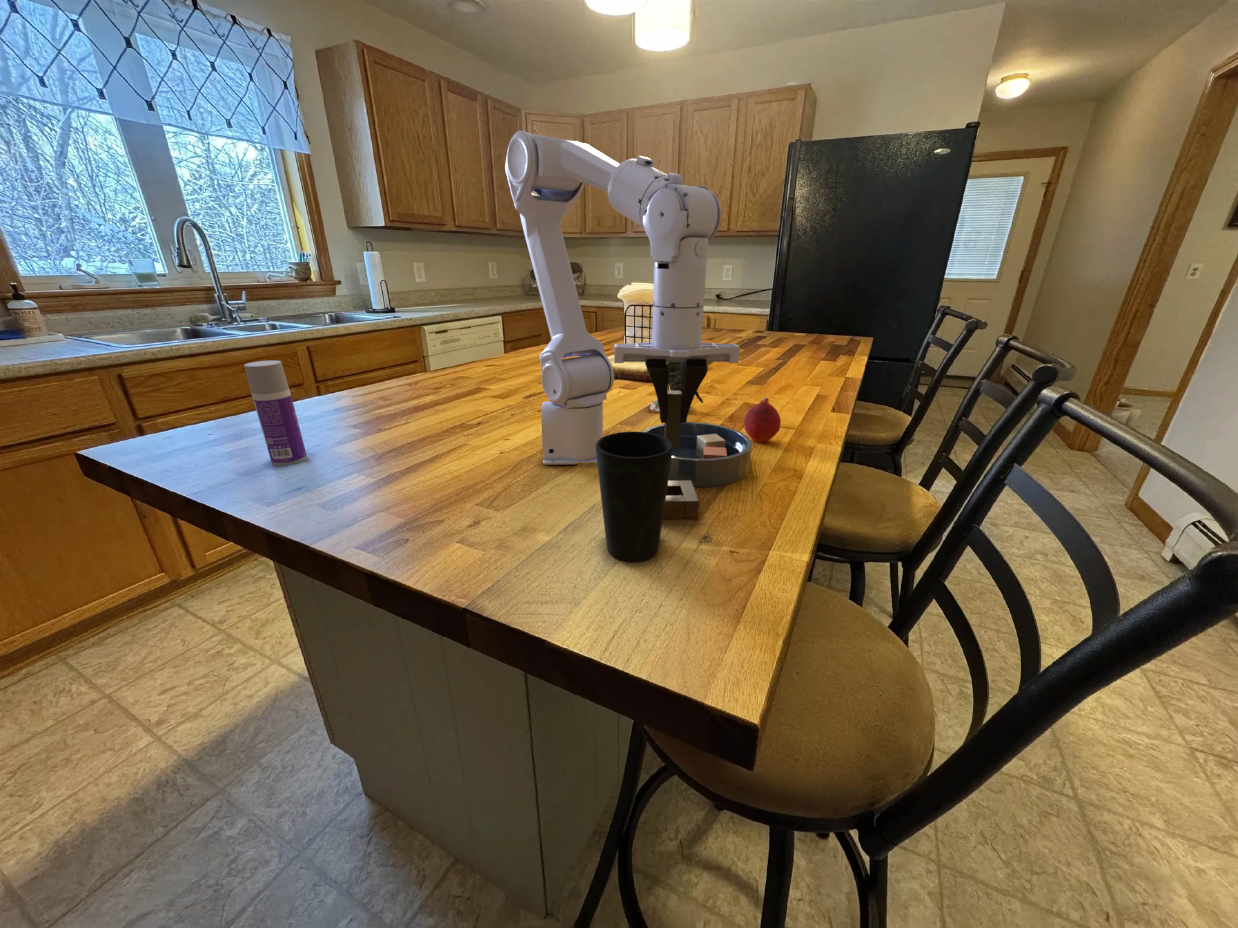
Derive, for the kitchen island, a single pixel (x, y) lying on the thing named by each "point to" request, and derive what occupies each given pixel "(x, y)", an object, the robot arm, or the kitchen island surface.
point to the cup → (633, 492)
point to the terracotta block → (714, 452)
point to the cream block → (708, 443)
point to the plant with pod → (672, 382)
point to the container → (276, 412)
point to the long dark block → (673, 418)
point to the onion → (762, 421)
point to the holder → (681, 501)
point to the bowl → (708, 470)
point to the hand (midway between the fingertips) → (672, 420)
